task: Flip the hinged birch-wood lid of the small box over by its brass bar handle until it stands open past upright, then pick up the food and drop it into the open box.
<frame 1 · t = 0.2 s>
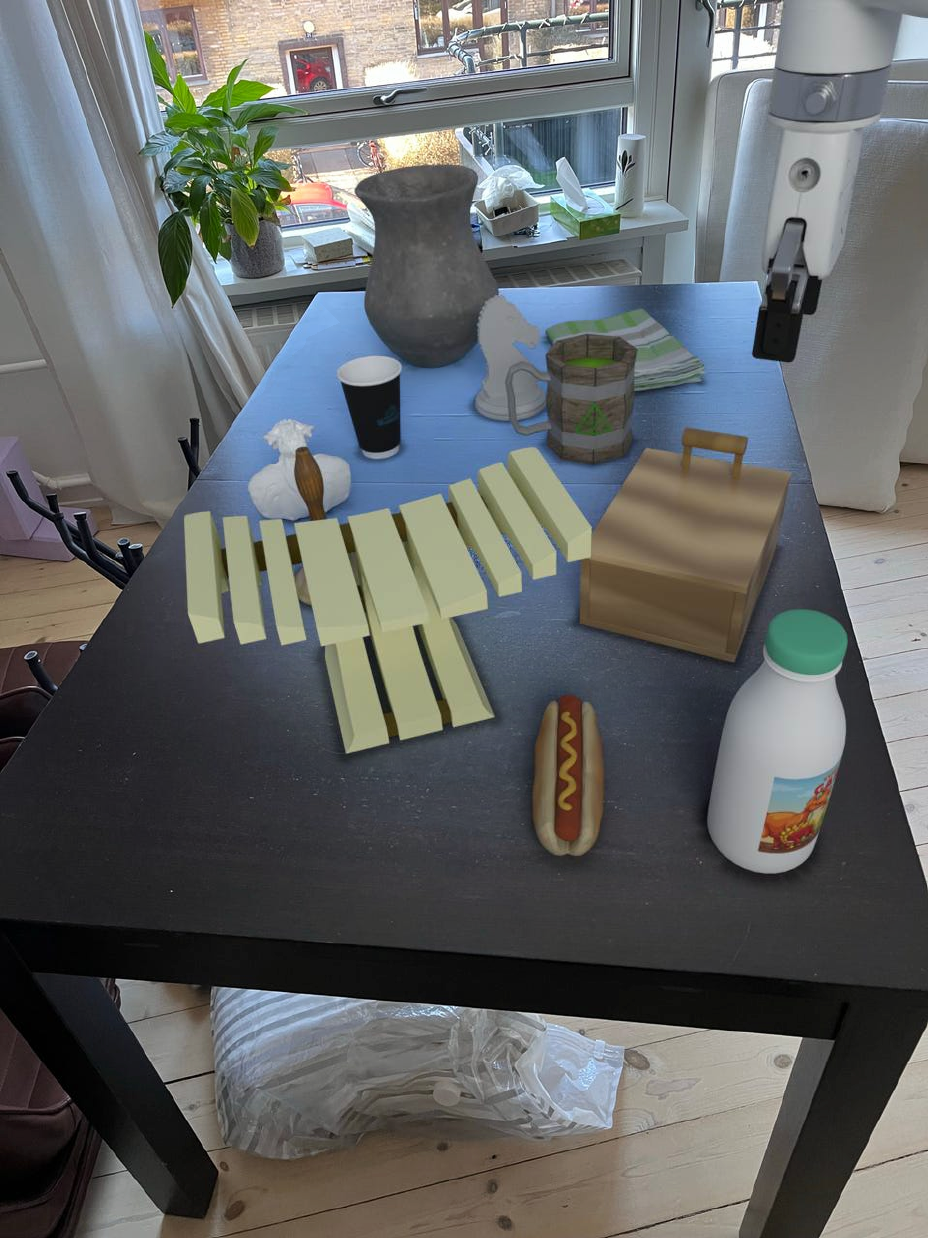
hand: (784, 334, 72), 25 cm above the table, tool pointing down, fingers open, 9 cm apart
box: (681, 584, 89), on the table
food: (568, 795, 70), on the table
milk bottle: (758, 834, 66), on the table
chess piece: (511, 405, 121), on the table
vase: (437, 358, 135), on the table
slatted curved stool: (402, 675, 82), on the table
hand bell: (332, 584, 93), on the table
dixie cup: (381, 450, 114), on the table
mug: (569, 445, 112), on the table
lid: (693, 493, 82), point 10 cm above the table, hinge at -0.1°
dish towel: (619, 360, 130), on the table
bust: (305, 506, 105), on the table
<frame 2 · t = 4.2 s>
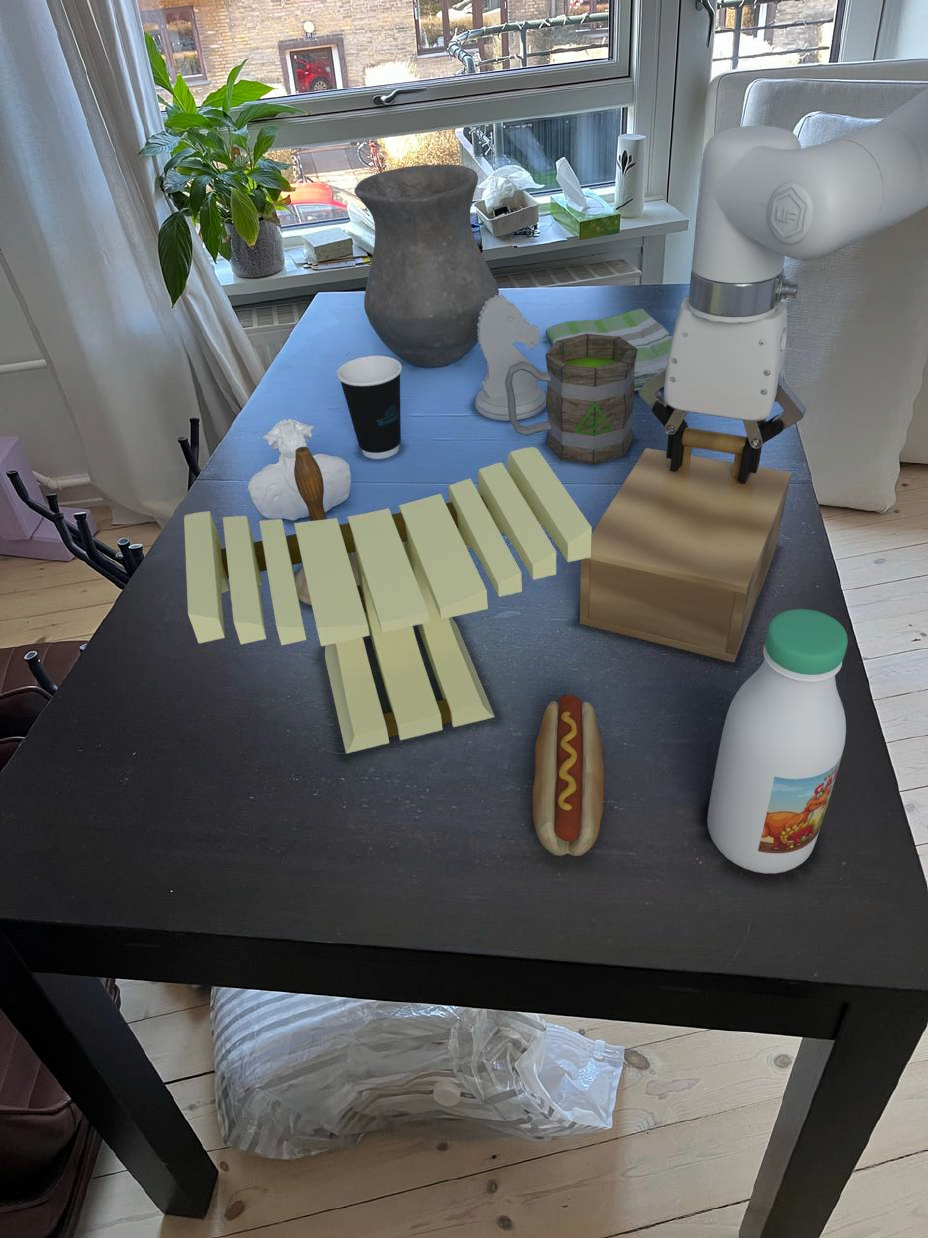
hand: (710, 469, 88), 9 cm above the table, tool pointing down, fingers closed on lid, 6 cm apart
lid: (693, 493, 82), point 10 cm above the table, hinge at -0.1°, touching gripper
everything else where it was.
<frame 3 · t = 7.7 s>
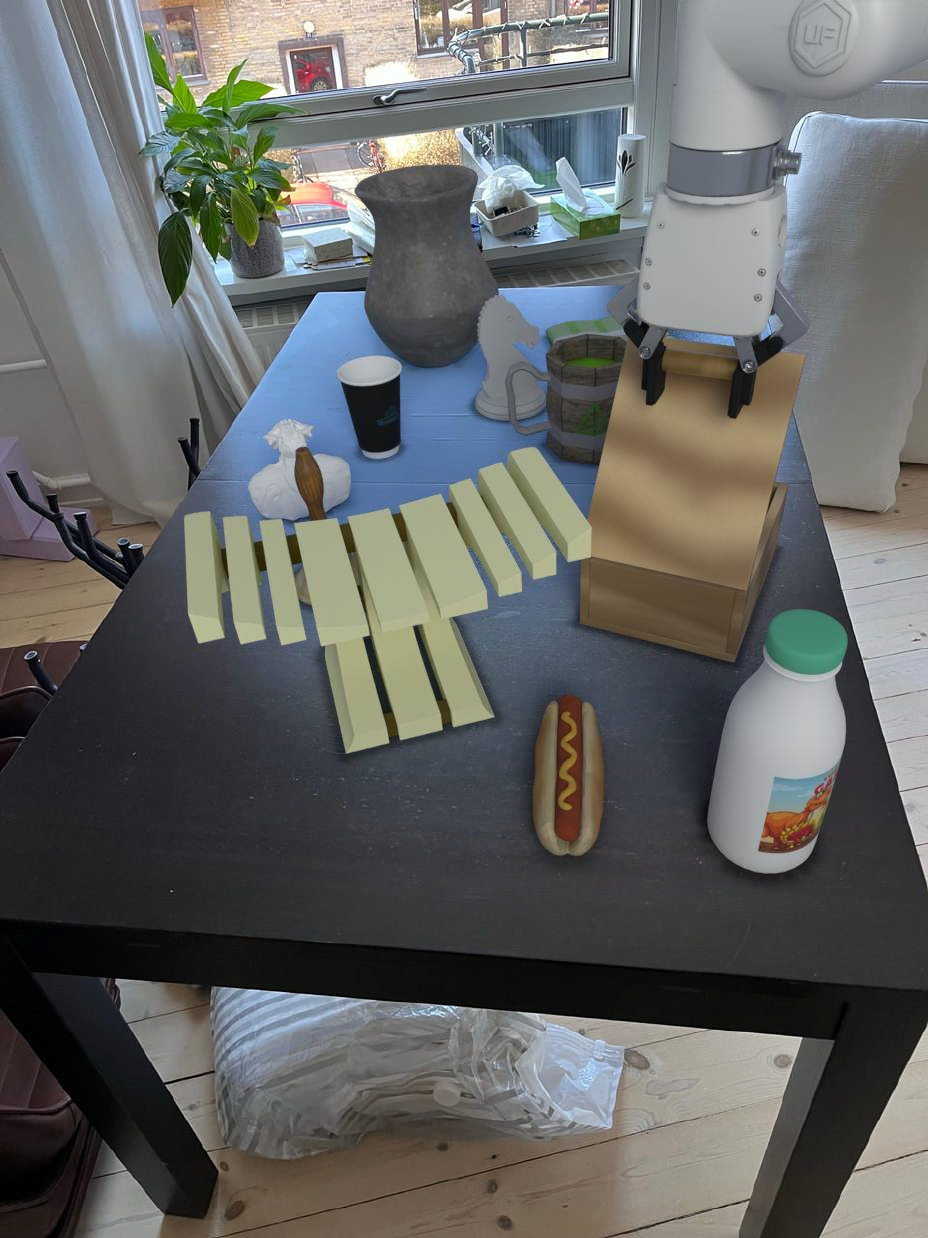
hand: (694, 402, 73), 21 cm above the table, tool pointing down, fingers closed on lid, 6 cm apart
lid: (683, 456, 74), point 18 cm above the table, hinge at 54.1°, touching gripper
everything else where it was.
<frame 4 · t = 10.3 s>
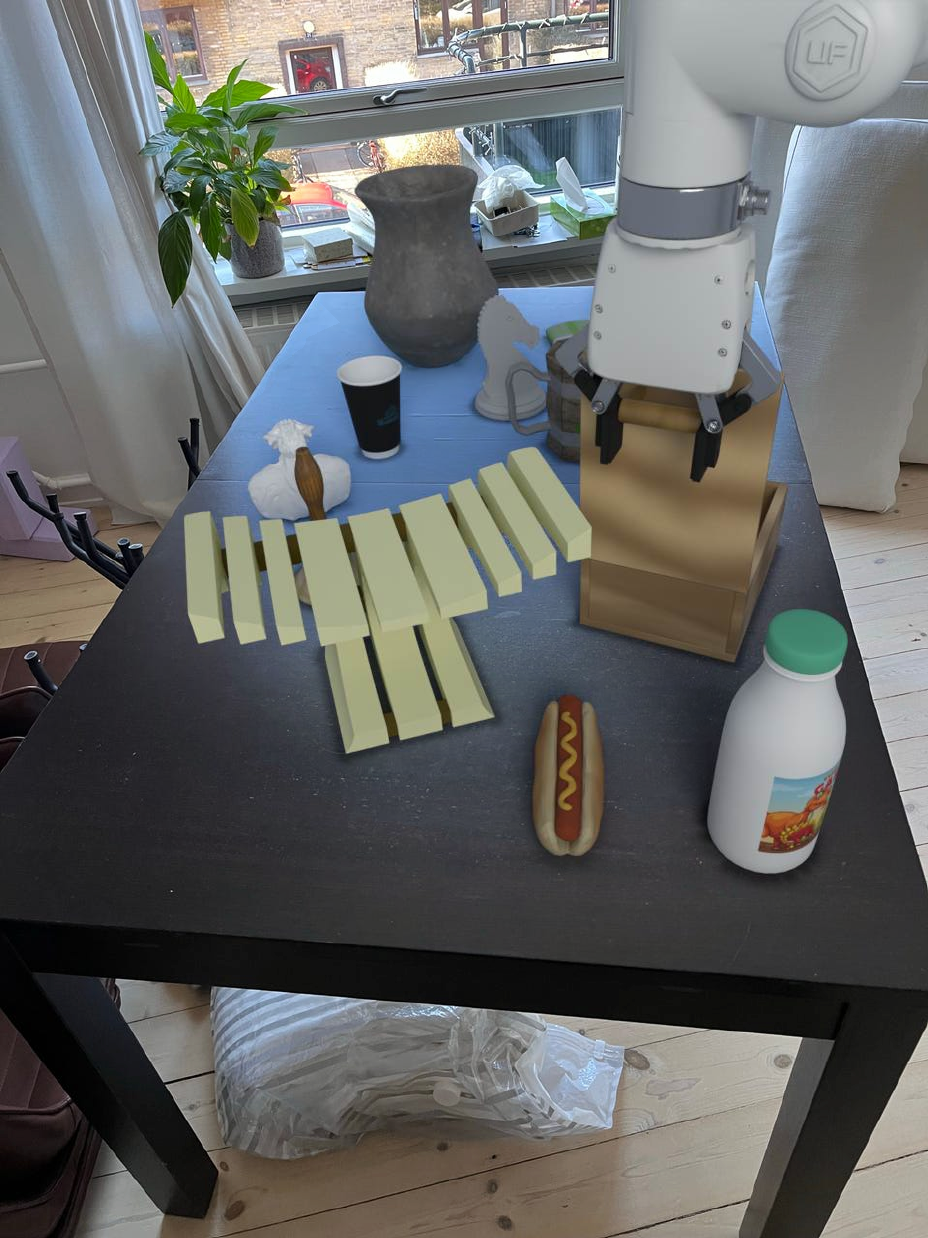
hand: (654, 462, 65), 22 cm above the table, tool pointing down, fingers closed on lid, 6 cm apart
lid: (661, 489, 69), point 18 cm above the table, hinge at 91.3°, touching gripper
everything else where it was.
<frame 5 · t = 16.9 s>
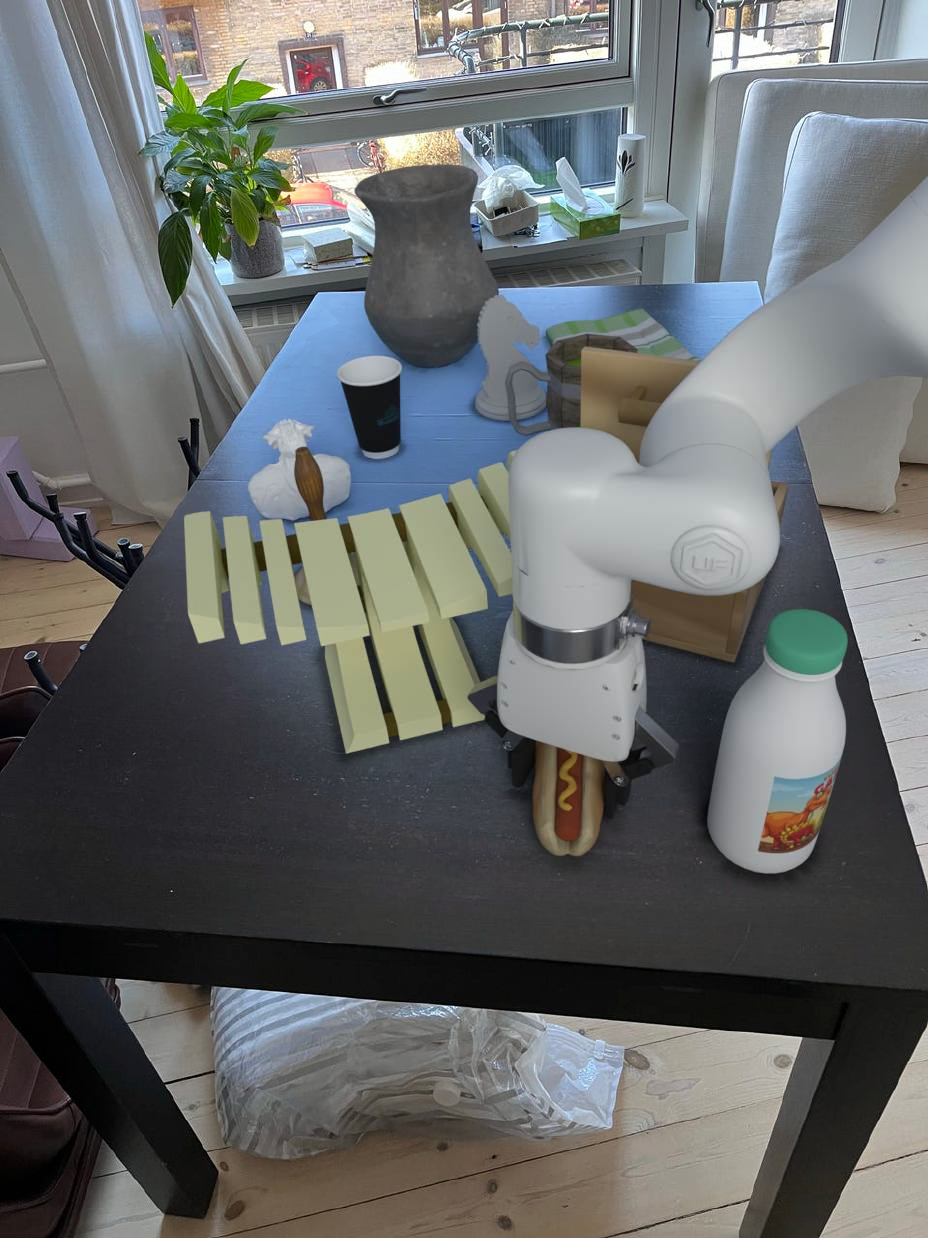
hand: (568, 787, 69), 1 cm above the table, tool pointing down, fingers closed on food, 6 cm apart
food: (569, 795, 70), on the table, touching gripper
lid: (661, 489, 69), point 18 cm above the table, hinge at 91.4°
everything else where it was.
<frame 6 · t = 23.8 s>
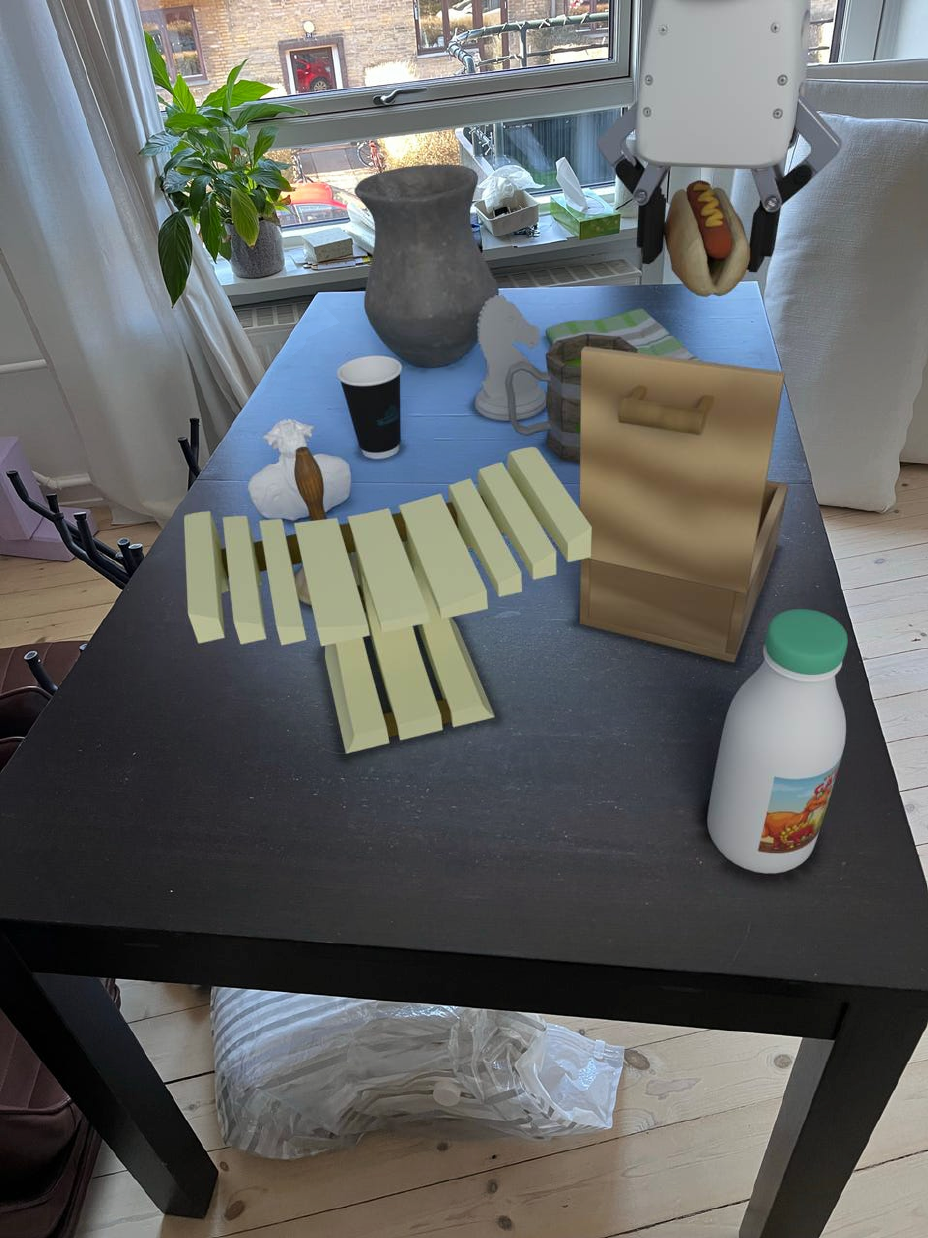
hand: (702, 259, 64), 34 cm above the table, tool pointing down, fingers closed on food, 6 cm apart
food: (702, 273, 64), point 33 cm above the table, touching gripper
everything else where it was.
when the fingers open (6 cm above the table, at t = 30.8 s): food drops 5 cm, resting on box.
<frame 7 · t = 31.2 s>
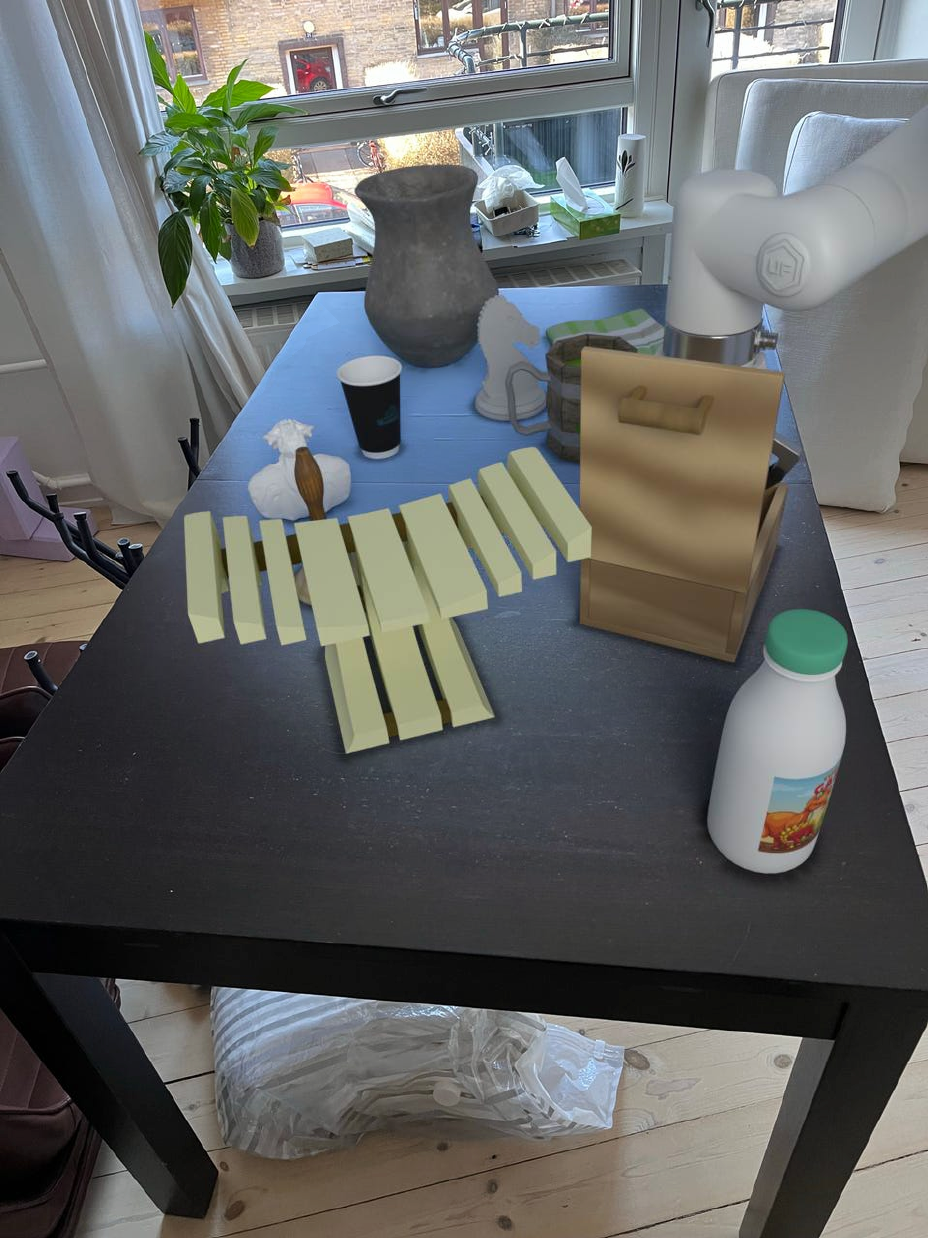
hand: (690, 515, 83), 8 cm above the table, tool pointing down, fingers open, 9 cm apart
food: (684, 579, 88), point 1 cm above the table, touching box
everything else where it was.
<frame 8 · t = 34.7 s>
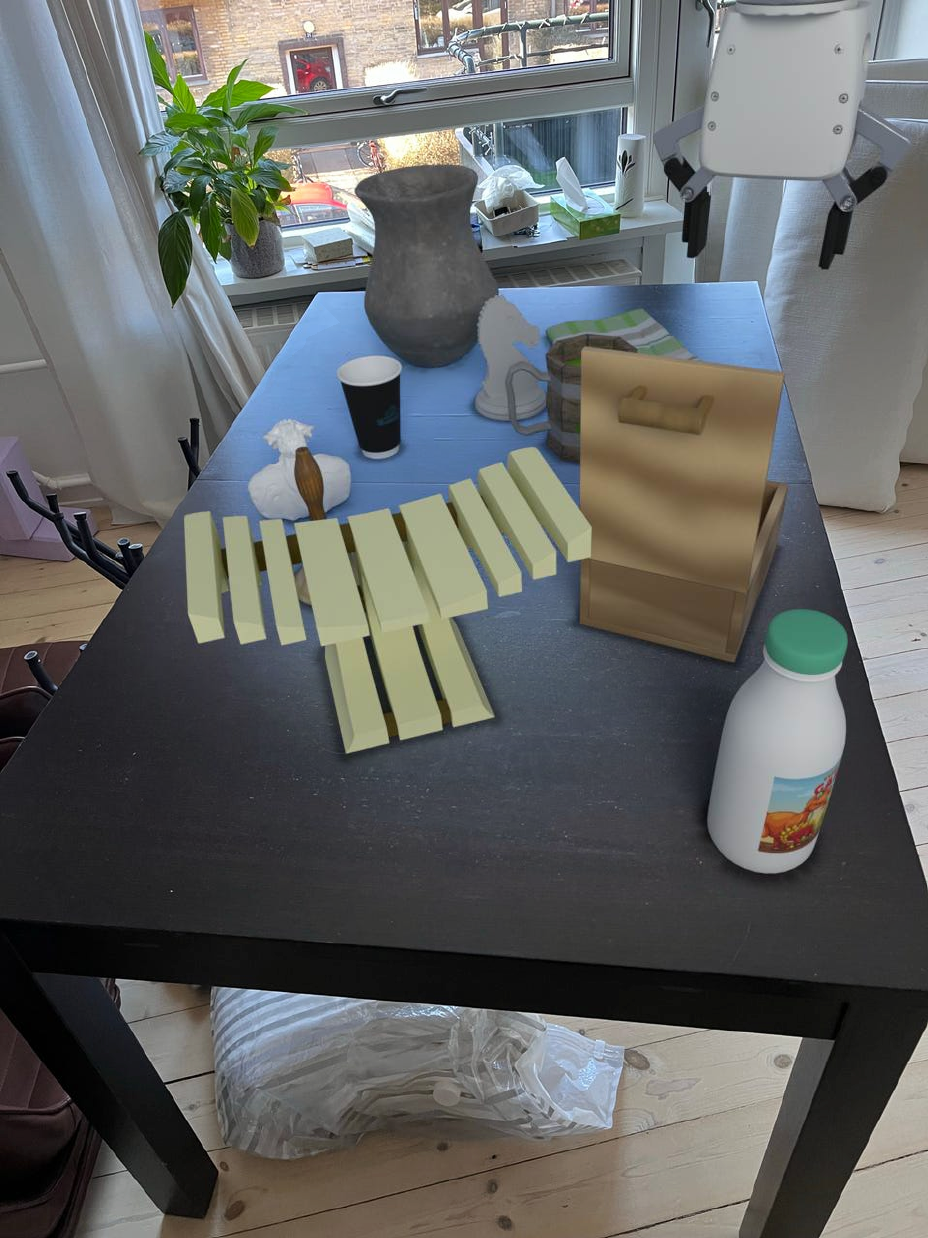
hand: (759, 257, 67), 32 cm above the table, tool pointing down, fingers open, 9 cm apart
nothing on the table moved.
at the end: lid at +91° (first picture: +0°); food inside the target area in the box (0.3 cm from its centre), point 0.7 cm above the box's base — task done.
